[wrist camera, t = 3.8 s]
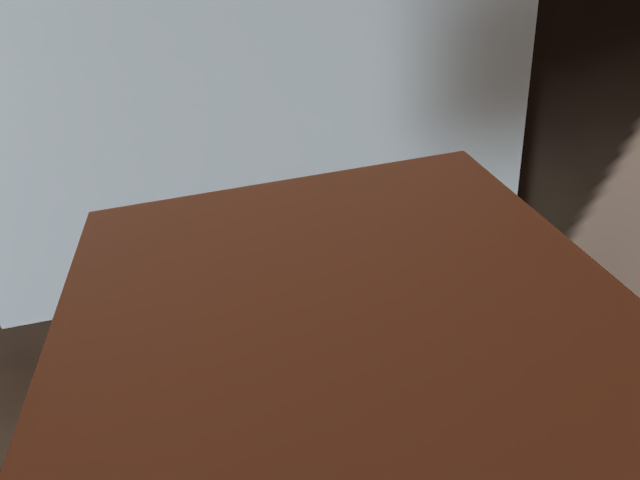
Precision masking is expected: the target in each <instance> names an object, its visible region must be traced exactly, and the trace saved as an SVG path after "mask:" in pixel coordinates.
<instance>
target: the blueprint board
mask: <svg viewBox="0 0 640 480" xmlns="http://www.w3.org/2000/svg"><path fill="white" fill-rule="evenodd" d="M538 1H539V0H0V326H1V328H2V329H5V328H10V327H15V326H21V325H26V324H31V323H37V322H42V321H47V320H52V319H53V316H54V313H55V310H56V307H57V305H58V302H59V299H60V296H61V293H62V290H63V287H64V284H65V281H66V278H67V275H68V272H69V269H70V266H71V263H72V260H73V258H74V255H75V252H76V249H77V246H78V243H79V240H80V237H81V234H82V231H83V228H84V225H85V222H86V219H87V216H88V213H89V212H92V211H98V210H104V209H110V208H116V207H122V206H128V205H134V204H140V203H147V202H153V201H159V200H165V199H171V198H177V197H183V196H189V195H195V194H201V193H207V192H214V191H220V190H226V189H232V188H238V187H244V186H250V185H256V184H262V183H268V182H274V181H281V180H287V179H293V178H299V177H305V176H311V175H317V174H323V173H329V172H335V171H341V170H348V169H354V168H360V167H366V166H372V165H378V164H384V163H390V162H396V161H402V160H408V159H415V158H421V157H427V156H433V155H439V154H445V153H451V152H457V151H463V150H464V151H465V152H466V153H467V154H469V155H470V156H471V157H472V158H473V159H474V160H476V161H477V162H478V163H479V164H480V165H482V166H483V167H484V168H485V169H486V170H488V171H489V172H490V173H491V174H492V175H494V176H495V177H496V178H497V179H498V180H499V181H501V182H502V183H503V184H504V185H505V186H507V187H508V188H509V189H510V190H511V191H513V192H514V193H515V194H516V195H517V194H518V184H519V175H520V166H521V157H522V148H523V139H524V130H525V120H526V111H527V102H528V93H529V84H530V75H531V66H532V56H533V47H534V38H535V29H536V20H537V11H538Z"/></svg>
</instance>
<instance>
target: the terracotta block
mask: <svg viewBox="0 0 640 480" xmlns="http://www.w3.org/2000/svg"><path fill="white" fill-rule="evenodd" d="M0 480H640V298H639V297H637V296H636V295H635V294H634V293H633V292H632V291H630V290H629V289H628V288H627V287H626V286H624V285H623V284H622V283H621V282H620V281H618V280H617V279H616V278H615V277H614V276H613V275H611V274H610V273H609V272H608V271H607V270H605V269H604V268H603V267H602V266H600V265H599V264H598V263H597V262H596V261H594V259H592V258H591V257H590V256H589V255H587V254H586V253H585V252H584V251H583V250H582V249H580V248H579V247H578V246H577V245H576V244H574V243H573V242H572V241H571V240H570V239H569V238H567V237H566V236H565V235H564V234H563V233H561V232H560V231H559V230H558V229H557V228H555V227H554V226H553V225H552V224H551V223H549V222H548V221H547V220H546V219H545V218H544V217H542V216H541V215H540V214H539V213H538V212H536V211H535V210H534V209H533V208H532V207H530V206H529V205H528V204H527V203H526V202H524V201H523V200H522V199H521V198H520V197H519V196H517V195H516V194H515V193H514V192H513V191H511V190H510V189H509V188H508V187H507V186H505V185H504V184H503V183H502V182H501V181H499V180H498V179H497V178H496V177H495V176H494V175H492V174H491V173H490V172H489V171H488V170H486V169H485V168H484V167H483V166H482V165H480V164H479V163H478V162H477V161H476V160H474V159H473V158H472V157H471V156H470V155H469V154H467V153H466V152H465V151H464V150H463V151H457V152H451V153H445V154H439V155H433V156H427V157H421V158H415V159H408V160H402V161H396V162H390V163H384V164H378V165H372V166H366V167H360V168H354V169H348V170H341V171H335V172H329V173H323V174H317V175H311V176H305V177H299V178H293V179H287V180H281V181H274V182H268V183H262V184H256V185H250V186H244V187H238V188H232V189H226V190H220V191H214V192H207V193H201V194H195V195H189V196H183V197H177V198H171V199H165V200H159V201H153V202H147V203H140V204H134V205H128V206H122V207H116V208H110V209H104V210H98V211H92V212H89V213H88V216H87V219H86V222H85V225H84V228H83V231H82V234H81V237H80V240H79V243H78V246H77V249H76V252H75V255H74V258H73V260H72V263H71V266H70V269H69V272H68V275H67V278H66V281H65V284H64V287H63V290H62V293H61V296H60V299H59V302H58V305H57V307H56V310H55V313H54V316H53V319H52V322H51V325H50V328H49V331H48V334H47V337H46V340H45V343H44V346H43V349H42V352H41V355H40V357H39V360H38V363H37V366H36V369H35V372H34V375H33V378H32V381H31V384H30V387H29V390H28V393H27V396H26V399H25V402H24V404H23V407H22V410H21V413H20V416H19V419H18V422H17V425H16V428H15V431H14V434H13V437H12V440H11V443H10V446H9V449H8V452H7V454H6V457H5V460H4V463H3V466H2V469H1V472H0Z"/></svg>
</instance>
